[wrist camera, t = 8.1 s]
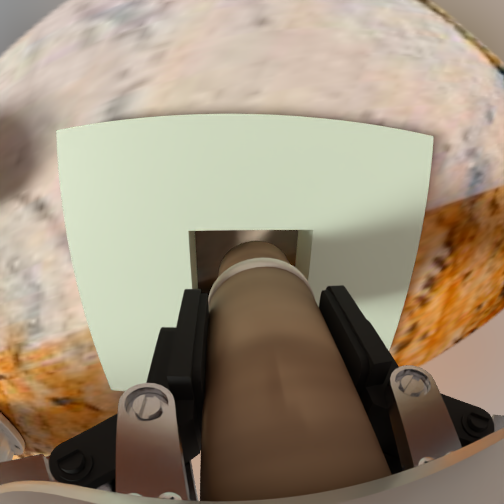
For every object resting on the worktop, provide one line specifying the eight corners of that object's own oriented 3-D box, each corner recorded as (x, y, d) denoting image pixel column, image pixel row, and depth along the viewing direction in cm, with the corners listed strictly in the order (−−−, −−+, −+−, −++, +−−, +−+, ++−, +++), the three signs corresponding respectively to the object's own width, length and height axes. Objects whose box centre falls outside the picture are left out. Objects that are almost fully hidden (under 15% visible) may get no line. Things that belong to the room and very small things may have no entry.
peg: (294, 310, 14) (368, 538, 4) (212, 312, 14) (208, 559, 4) (301, 232, 13) (444, 480, 3) (209, 233, 13) (179, 527, 3)
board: (364, 353, 19) (378, 379, 16) (120, 362, 17) (111, 389, 15) (405, 133, 13) (433, 136, 11) (81, 128, 12) (56, 130, 10)
